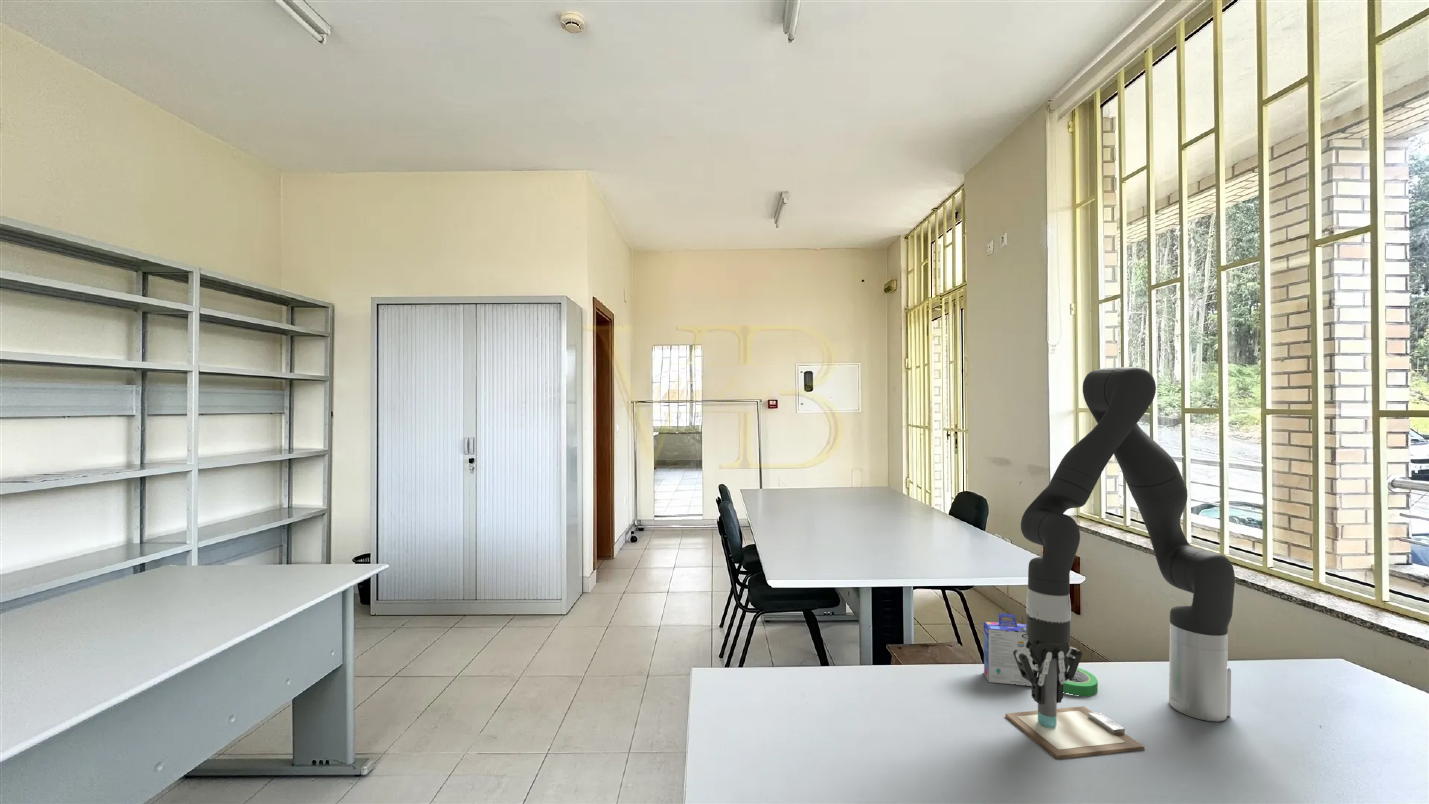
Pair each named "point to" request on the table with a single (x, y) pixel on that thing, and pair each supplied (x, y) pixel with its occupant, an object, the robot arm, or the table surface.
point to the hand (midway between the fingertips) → (1047, 701)
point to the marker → (1049, 697)
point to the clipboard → (1076, 733)
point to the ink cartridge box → (1004, 650)
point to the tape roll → (1081, 684)
